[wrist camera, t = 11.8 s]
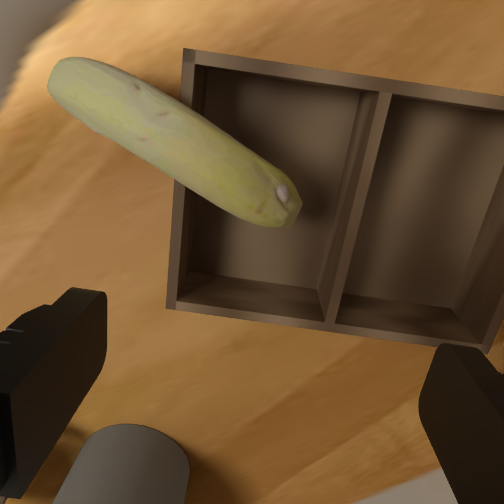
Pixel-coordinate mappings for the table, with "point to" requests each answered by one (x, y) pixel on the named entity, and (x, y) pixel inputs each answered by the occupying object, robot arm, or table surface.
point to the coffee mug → (127, 469)
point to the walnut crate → (349, 205)
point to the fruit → (175, 141)
